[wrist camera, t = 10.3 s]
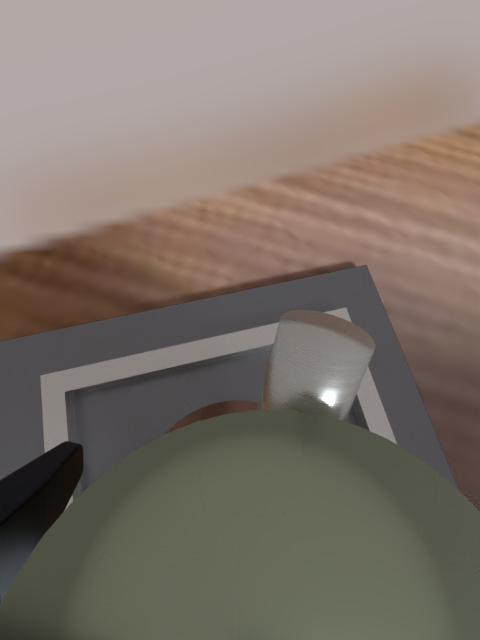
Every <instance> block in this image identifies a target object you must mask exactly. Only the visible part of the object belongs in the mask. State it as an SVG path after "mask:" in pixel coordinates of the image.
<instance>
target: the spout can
mask: <svg viewBox="0 0 480 640" xmlns="http://www.w3.org/2000/svg"><path fill="white" fill-rule="evenodd" d="M374 350H375V342H374V340H373V339H372V337H371V336H370V335H369V334H368V333H367V332H366V331H364V330H363V329H362V328H360V327H359V326H357V325H355V324H353V323H351V322H349V321H347V320H345V319H342V318H340V317H337V316H334V315H331V314H327V313H323V312H318V311H312V310H293V311H289V312H286V313H284V314H283V315H282V316H281V318H280V321H279V325H278V329H277V333H276V336H275V340H274V344H273V348H272V352H271V356H270V360H269V364H268V367H267V371H266V375H265V379H264V383H263V387H262V391H261V394H260V398H259V402H258V406H257V410H256V411H247V412H239V413H230V414H225V415H221V416H217V417H213V418H209V419H205V420H201V421H198V422H194V423H192V424H189V425H187V426H184V427H182V428H179V429H177V430H174V431H172V432H169V433H167V434H165V435H163V436H161V437H159V438H157V439H155V440H154V441H152V442H150V443H148V444H146V445H145V446H143V447H141V448H139V449H137V450H136V451H134V452H132V453H131V454H129V455H128V456H127V457H125V458H124V459H123V460H121V461H120V462H118V463H117V464H116V465H114V466H113V467H112V468H110V469H109V470H108V471H106V472H105V473H103V474H102V475H101V476H100V477H99V478H98V479H97V480H96V481H94V482H93V483H92V484H91V485H90V486H89V487H88V488H87V489H86V490H85V491H84V492H83V493H81V494H80V495H79V496H78V497H77V498H76V499H75V500H74V501H73V502H72V503H71V504H70V505H69V506H68V508H67V509H66V510H65V511H64V512H63V513H62V514H61V516H60V517H59V518H58V519H57V520H56V521H55V523H54V524H53V525H52V526H51V527H50V528H49V529H48V531H47V532H46V533H45V534H44V535H43V537H42V538H41V540H40V541H39V542H38V544H37V545H36V547H35V548H34V550H33V551H32V553H31V554H30V555H29V557H28V558H27V560H26V561H25V563H24V564H23V566H22V567H21V568H20V570H19V571H18V573H17V574H16V576H15V578H14V580H13V582H12V583H11V585H10V587H9V589H8V591H7V592H6V594H5V596H4V598H3V600H2V601H1V603H0V640H480V511H479V510H478V509H477V508H476V507H475V506H474V505H473V504H472V503H471V502H470V501H469V500H468V499H467V498H466V497H465V496H464V495H463V494H462V493H461V492H460V491H459V490H458V489H457V488H456V487H454V486H453V485H452V484H451V483H450V482H449V481H448V480H447V479H446V478H445V477H443V476H442V475H441V474H439V473H438V472H437V471H435V470H434V469H433V468H431V467H430V466H429V465H428V464H426V463H425V462H424V461H422V460H421V459H420V458H418V457H417V456H415V455H414V454H412V453H410V452H409V451H407V450H405V449H403V448H402V447H400V446H398V445H397V444H395V443H393V442H392V441H390V440H388V439H387V438H384V437H382V436H380V435H377V434H375V433H373V432H371V431H368V430H366V429H364V428H362V427H359V426H357V425H354V424H351V423H347V422H345V421H346V419H347V416H348V414H349V411H350V409H351V406H352V404H353V401H354V399H355V397H356V394H357V392H358V389H359V387H360V384H361V382H362V379H363V377H364V374H365V372H366V370H367V367H368V365H369V362H370V360H371V357H372V355H373V352H374Z"/></svg>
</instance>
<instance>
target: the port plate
mask: <svg viewBox="0 0 480 640" xmlns="http://www.w3.org/2000/svg"><path fill="white" fill-rule="evenodd" d="M293 310H312V311H318V312H323V313H327V314H331V315H334V316H337V317H340V318H342V319H345V320H347V321H349V322H351V323H353V324H355V325H357V326H359V327H360V328H362V329H363V330H364V331H366V332H367V333H368V334H369V335H370V336H371V337H372V339H373V340H374V342H375V350H374V352H373V355H372V357H371V360H370V362H369V365H368V367H367V370H366V372H365V374H364V377H363V379H362V382H361V384H360V387H359V389H358V392H357V394H356V397H355V399H354V401H353V404H352V406H351V409H350V411H349V414H348V416H347V419H346V421H345V422H347V423H351V424H354V425H357V426H359V427H362V428H364V429H366V430H368V431H371V432H373V433H375V434H377V435H380V436H382V437H384V438H387V439H388V440H390V441H392V442H393V443H395V444H397V445H398V446H400V447H402V448H403V449H405V450H407V451H409V452H410V453H412V454H414V455H415V456H417V457H418V458H420V459H421V460H422V461H424V462H425V463H426V464H428V465H429V466H430V467H431V468H433V469H434V470H435V471H437V472H438V473H439V474H441V475H442V476H443V477H445V478H446V479H447V480H448V481H449V482H450V483H451V484H452V485H453V486H454V487H456V488H457V489H458V490H459V488H458V486H457V484H456V481H455V479H454V476H453V474H452V471H451V469H450V466H449V464H448V462H447V459H446V457H445V454H444V452H443V449H442V447H441V445H440V442H439V440H438V437H437V435H436V432H435V430H434V428H433V425H432V423H431V420H430V418H429V415H428V413H427V411H426V408H425V406H424V403H423V401H422V398H421V396H420V394H419V391H418V389H417V386H416V384H415V381H414V379H413V377H412V374H411V372H410V369H409V367H408V364H407V362H406V359H405V357H404V355H403V352H402V350H401V347H400V345H399V342H398V340H397V338H396V335H395V333H394V330H393V328H392V325H391V323H390V321H389V318H388V316H387V313H386V311H385V308H384V306H383V304H382V301H381V299H380V296H379V294H378V291H377V289H376V287H375V284H374V282H373V279H372V277H371V274H370V272H369V269H368V267H367V265H364V266H359V267H354V268H349V269H345V270H340V271H335V272H330V273H325V274H321V275H316V276H311V277H306V278H301V279H297V280H292V281H287V282H282V283H278V284H273V285H268V286H263V287H258V288H254V289H249V290H244V291H239V292H234V293H230V294H225V295H220V296H215V297H210V298H206V299H201V300H196V301H191V302H187V303H182V304H177V305H172V306H167V307H163V308H158V309H153V310H148V311H143V312H139V313H134V314H129V315H124V316H119V317H115V318H110V319H105V320H100V321H96V322H91V323H86V324H81V325H76V326H72V327H67V328H62V329H57V330H52V331H48V332H43V333H38V334H33V335H28V336H24V337H19V338H14V339H9V340H5V341H0V480H1V479H3V478H4V477H6V476H8V475H9V474H11V473H13V472H14V471H16V470H18V469H19V468H21V467H23V466H24V465H26V464H28V463H29V462H31V461H33V460H34V459H36V458H37V457H39V456H41V455H42V454H44V453H46V452H47V451H49V450H51V449H52V448H54V447H56V446H57V445H59V444H61V443H62V442H65V441H71V442H75V443H79V444H81V445H82V446H83V458H84V469H83V473H82V476H81V478H80V480H79V482H78V484H77V486H76V488H75V490H74V492H73V494H72V496H71V498H70V500H69V502H68V505H67V507H66V509H67V508H68V506H69V505H70V504H71V503H72V502H73V501H74V500H75V499H76V498H77V497H78V496H79V495H80V494H81V493H83V492H84V491H85V490H86V489H87V488H88V487H89V486H90V485H91V484H92V483H93V482H94V481H96V480H97V479H98V478H99V477H100V476H101V475H102V474H103V473H105V472H106V471H108V470H109V469H110V468H112V467H113V466H114V465H116V464H117V463H118V462H120V461H121V460H123V459H124V458H125V457H127V456H128V455H129V454H131V453H132V452H134V451H136V450H137V449H139V448H141V447H143V446H145V445H146V444H148V443H150V442H152V441H154V440H155V439H157V438H159V437H161V436H163V435H165V434H167V433H169V432H172V431H174V430H177V429H179V428H182V427H184V426H187V425H189V424H192V423H194V422H198V421H201V420H205V419H209V418H213V417H217V416H221V415H225V414H230V413H239V412H247V411H256V410H257V406H258V402H259V398H260V394H261V391H262V387H263V383H264V379H265V375H266V371H267V367H268V364H269V360H270V356H271V352H272V348H273V344H274V340H275V336H276V333H277V329H278V325H279V321H280V318H281V316H282V315H283V314H284V313H286V312H289V311H293ZM66 509H65V510H66Z"/></svg>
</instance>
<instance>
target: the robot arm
mask: <svg viewBox="0 0 480 640" xmlns="http://www.w3.org/2000/svg"><path fill="white" fill-rule="evenodd" d="M83 469H84V458H83V446H82V445H81V444H79V443H75V442H71V441H65V442H62V443H61V444H59V445H57V446H56V447H54V448H52V449H51V450H49V451H47V452H46V453H44V454H42V455H41V456H39V457H37V458H36V459H34V460H33V461H31V462H29V463H28V464H26V465H24V466H23V467H21V468H19V469H18V470H16V471H14V472H13V473H11V474H9V475H8V476H6V477H4V478H3V479H1V480H0V603H1V601H2V600H3V598H4V596H5V594H6V592H7V591H8V589H9V587H10V585H11V583H12V582H13V580H14V578H15V576H16V574H17V573H18V571H19V570H20V568H21V567H22V566H23V564H24V563H25V561H26V560H27V558H28V557H29V555H30V554H31V553H32V551H33V550H34V548H35V547H36V545H37V544H38V542H39V541H40V540H41V538H42V537H43V535H44V534H45V533H46V532H47V531H48V529H49V528H50V527H51V526H52V525H53V524H54V523H55V521H56V520H57V519H58V518H59V517H60V516H61V514H62V513H63V512H64V511H65V509H66V507H67V505H68V502H69V500H70V498H71V496H72V494H73V492H74V490H75V488H76V486H77V484H78V482H79V480H80V478H81V476H82V473H83Z"/></svg>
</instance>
